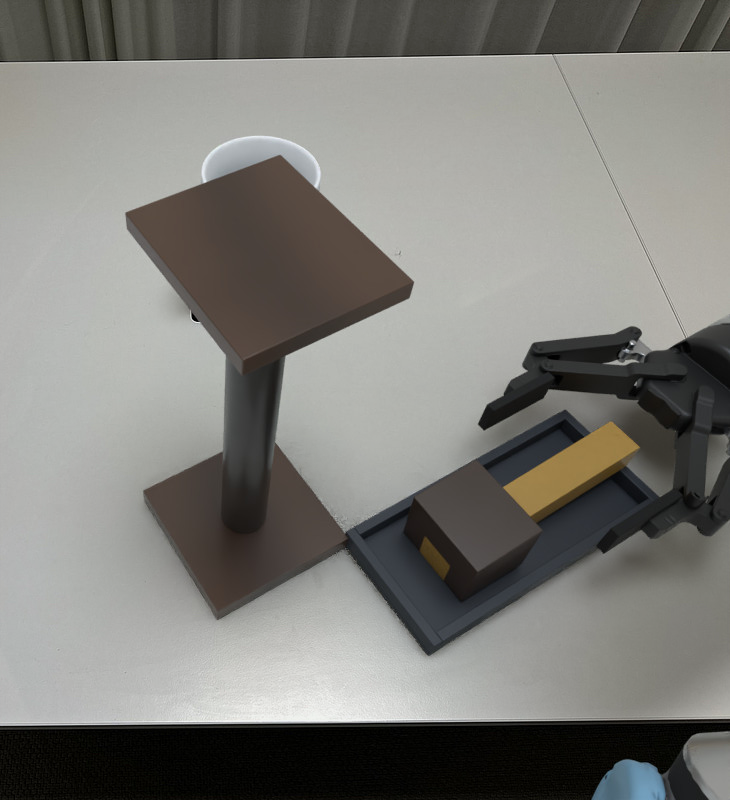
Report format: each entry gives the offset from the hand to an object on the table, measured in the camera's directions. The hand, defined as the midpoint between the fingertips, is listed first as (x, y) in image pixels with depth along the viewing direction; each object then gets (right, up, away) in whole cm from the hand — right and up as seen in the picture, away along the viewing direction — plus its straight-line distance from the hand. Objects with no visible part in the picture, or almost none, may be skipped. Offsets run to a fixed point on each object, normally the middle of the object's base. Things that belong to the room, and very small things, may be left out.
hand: (542, 476), depth 59 cm
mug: (-21, +18, +22) cm, 36 cm away
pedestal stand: (-22, -4, +5) cm, 23 cm away
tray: (-1, -5, +5) cm, 7 cm away
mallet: (0, -3, +4) cm, 5 cm away
